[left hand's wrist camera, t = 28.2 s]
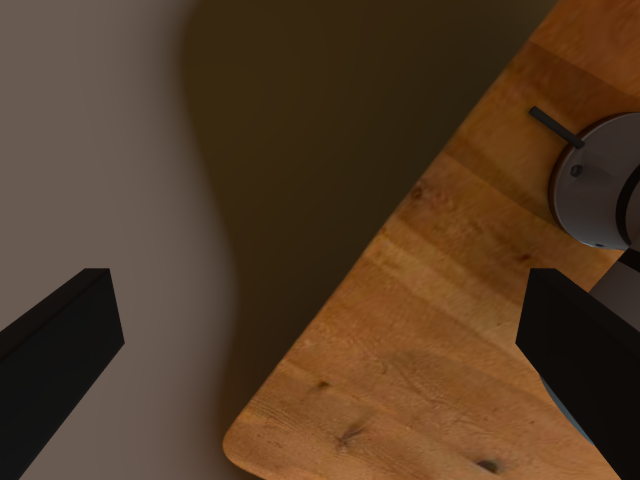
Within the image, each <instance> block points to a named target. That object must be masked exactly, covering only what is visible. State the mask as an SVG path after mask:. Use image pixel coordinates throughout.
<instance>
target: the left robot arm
mask: <svg viewBox="0 0 640 480" xmlns="http://www.w3.org/2000/svg"><path fill="white" fill-rule="evenodd" d="M529 113H530V114H531V115H532V116H534V117H535V118H536V119H538V120H539V121H540V122H542V123H543V124H545V125H546V126H547V127H549V128H550V129H551V130H553V131H554V132H555V133H557V134H558V135H559V136H561V137H562V138H563V139H565V140H566V141H568V142H569V145H568V146H567V147H566V148H565V150H564V151H563V152H562V154H561V155H560V157H559V159H558V160H557V162H556V164H555V167H554V169H553V171H552V175H551V178H550V182H549V189H548V199H549V206H550V210H551V213H552V215H553V218H554V220H555V221H556V223H557V224H558V225H559V227H560V228H561V229H562V230H563V231H564V232H566V233H567V234H568V235H570V236H571V237H573V238H575V239H577V240H578V241H580V242H582V243H584V244H586V245H589V246H593V247H597V248H603V249H619V250H623V251H625V252H624V253H623V254H622V256H621V257H620V258H619V259H618V260H617V261H616V262H615V263H614V264H613V265H612V267H611V268H610V269H609V270H608V271H607V272H606V273H605V275H604V276H603V277H602V278H601V279H600V280H599V281H598V282H597V283H596V285H595V286H594V287H593V288H592V289H591V290H590V291H589V292H588V293H587V292H586V291H585V290H583V289H582V288H581V287H579V286H578V285H577V284H575V283H574V282H573V281H571V280H570V279H569V278H567V277H566V276H565V275H563V274H562V273H561V272H559V271H558V270H557V269H555V268H531V269H530V274H529V279H528V283H527V288H526V293H525V298H524V303H523V308H522V313H521V318H520V322H519V327H518V332H517V337H516V342H515V344H516V345H517V346H518V347H519V349H520V350H521V351H522V353H523V354H524V355H525V356H526V358H527V359H528V360H529V362H530V363H531V364H532V365H533V367H534V368H535V369H536V371H537V372H538V373H539V375H540V378H541V380H542V382H543V385H544V387H545V388H546V390H547V392H548V393H549V395H550V397H551V398H552V400H553V401H554V402H555V404H556V405H557V407H558V408H559V409H560V410H561V412H562V413H563V414H564V415H565V417H566V418H567V419H568V420H569V421H570V422H571V424H572V425H573V426H574V427H575V428H576V429H577V430H578V431H579V432H580V433H581V434H582V435H583V436H584V437H585V438H586V439H587V440H588V441H589V442H590V443H591V444H593V445H595V446H596V448H597V449H598V450H599V452H600V453H601V454H602V455H603V457H604V458H605V459H606V461H607V462H608V463H609V464H610V466H611V467H612V468H613V470H614V471H615V472H616V473H617V475H618V476H619V477H620V479H621V480H640V112H626V113H620V114H616V115H612V116H609V117H606V118H604V119H602V120H600V121H597V122H596V123H594V124H592V125H590V126H589V127H588V128H586V129H585V130H583V131H582V132H581V133H580V134H578V135H577V136H575V135H574V134H572V133H571V132H570V131H568V130H567V129H566V128H564V127H563V126H562V125H560V124H559V123H557V122H556V121H555V120H553V119H552V118H551V117H549V116H548V115H547V114H545V113H544V112H543V111H541V110H540V109H538V108H537V107H536V106H534V107H533V108H532V109H531V110H530V112H529ZM628 266H629V267H628ZM124 343H125V342H124V337H123V332H122V327H121V323H120V318H119V313H118V308H117V303H116V298H115V293H114V288H113V283H112V279H111V274H110V269H109V268H85V269H83V270H82V271H81V272H79V273H78V274H77V275H75V276H74V277H73V278H71V279H70V280H69V281H67V282H66V283H65V284H63V285H62V286H61V287H59V288H58V289H57V290H55V291H54V292H53V293H51V294H50V295H49V296H47V297H46V298H45V299H43V300H42V301H41V302H39V303H38V304H37V305H35V306H34V307H33V308H31V309H30V310H29V311H27V312H26V313H25V314H23V315H22V316H21V317H19V318H18V319H17V320H15V321H14V322H13V323H11V324H10V325H9V326H7V327H6V328H5V329H3V330H2V331H1V332H0V480H19V479H20V477H21V476H22V475H23V473H24V472H25V471H26V469H27V468H28V467H29V466H30V464H31V463H32V462H33V461H34V459H35V458H36V457H37V455H38V454H39V453H40V452H41V450H42V449H43V448H44V446H45V445H46V444H47V442H48V441H49V440H50V439H51V437H52V436H53V435H54V433H55V432H56V431H57V430H58V428H59V427H60V426H61V425H62V423H63V422H64V421H65V419H66V418H67V417H68V416H69V414H70V413H71V412H72V410H73V409H74V408H75V406H76V405H77V404H78V403H79V401H80V400H81V399H82V398H83V396H84V395H85V394H86V392H87V391H88V390H89V388H90V387H91V386H92V385H93V383H94V382H95V381H96V380H97V378H98V377H99V376H100V374H101V373H102V372H103V371H104V369H105V368H106V367H107V365H108V364H109V363H110V362H111V360H112V359H113V358H114V356H115V355H116V354H117V353H118V351H119V350H120V349H121V347H122V346H123V345H124Z"/></svg>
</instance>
